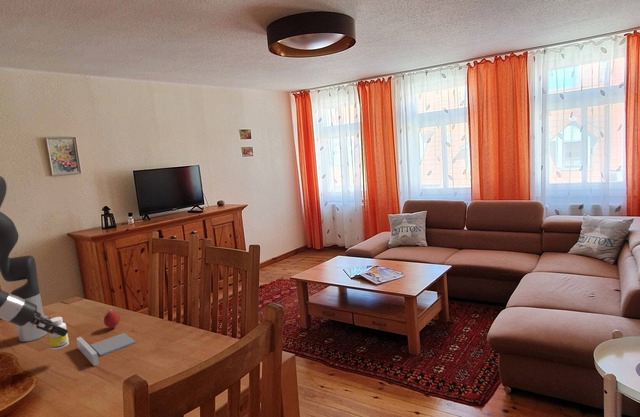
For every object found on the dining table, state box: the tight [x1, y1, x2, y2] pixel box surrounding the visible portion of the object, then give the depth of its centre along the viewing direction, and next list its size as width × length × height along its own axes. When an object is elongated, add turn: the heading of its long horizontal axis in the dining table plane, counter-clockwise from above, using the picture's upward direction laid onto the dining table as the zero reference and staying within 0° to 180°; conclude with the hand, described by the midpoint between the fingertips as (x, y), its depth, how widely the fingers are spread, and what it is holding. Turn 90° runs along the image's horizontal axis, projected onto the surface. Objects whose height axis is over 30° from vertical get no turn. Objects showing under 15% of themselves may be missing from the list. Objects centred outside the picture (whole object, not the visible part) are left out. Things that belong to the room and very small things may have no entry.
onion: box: [103, 309, 121, 329], centre depth 162 cm, size 6×6×8 cm
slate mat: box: [90, 332, 137, 356], centre depth 147 cm, size 12×12×1 cm
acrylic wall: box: [76, 336, 100, 367], centre depth 139 cm, size 20×2×4 cm, turn 45°
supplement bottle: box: [47, 316, 70, 350], centre depth 135 cm, size 5×5×10 cm
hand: (63, 331), depth 136 cm, fingers closed on supplement bottle, 5 cm apart
